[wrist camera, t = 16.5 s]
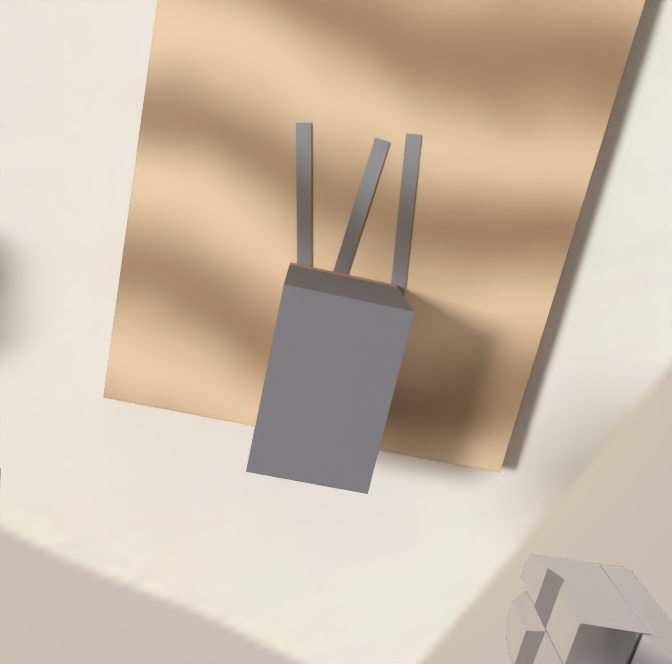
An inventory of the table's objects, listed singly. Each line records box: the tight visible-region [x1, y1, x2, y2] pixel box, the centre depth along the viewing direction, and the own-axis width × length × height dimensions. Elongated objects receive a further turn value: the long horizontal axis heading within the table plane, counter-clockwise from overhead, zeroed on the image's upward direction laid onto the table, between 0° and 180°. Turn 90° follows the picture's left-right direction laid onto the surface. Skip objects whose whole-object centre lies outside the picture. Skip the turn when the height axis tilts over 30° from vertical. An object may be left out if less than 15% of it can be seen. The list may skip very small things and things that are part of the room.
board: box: [103, 0, 645, 473], centre depth 25 cm, size 22×18×1 cm
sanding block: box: [246, 262, 414, 494], centre depth 23 cm, size 7×4×5 cm, turn 168°
